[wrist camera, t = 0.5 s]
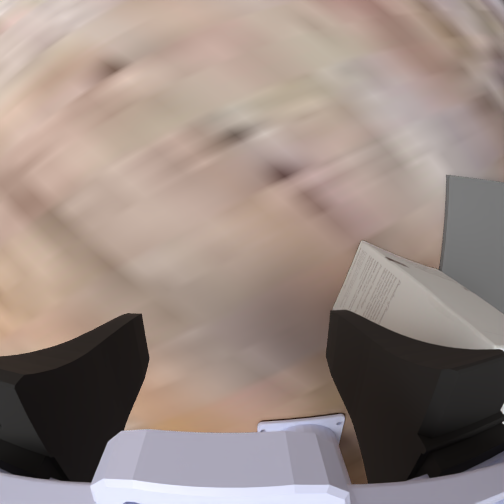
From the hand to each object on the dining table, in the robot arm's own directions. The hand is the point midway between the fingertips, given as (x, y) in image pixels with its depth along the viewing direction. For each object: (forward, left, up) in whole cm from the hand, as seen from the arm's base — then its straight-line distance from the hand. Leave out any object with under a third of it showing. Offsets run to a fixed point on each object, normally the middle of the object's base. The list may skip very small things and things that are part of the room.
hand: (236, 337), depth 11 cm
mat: (-3, -24, -10) cm, 26 cm away
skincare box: (-3, -11, -10) cm, 15 cm away
